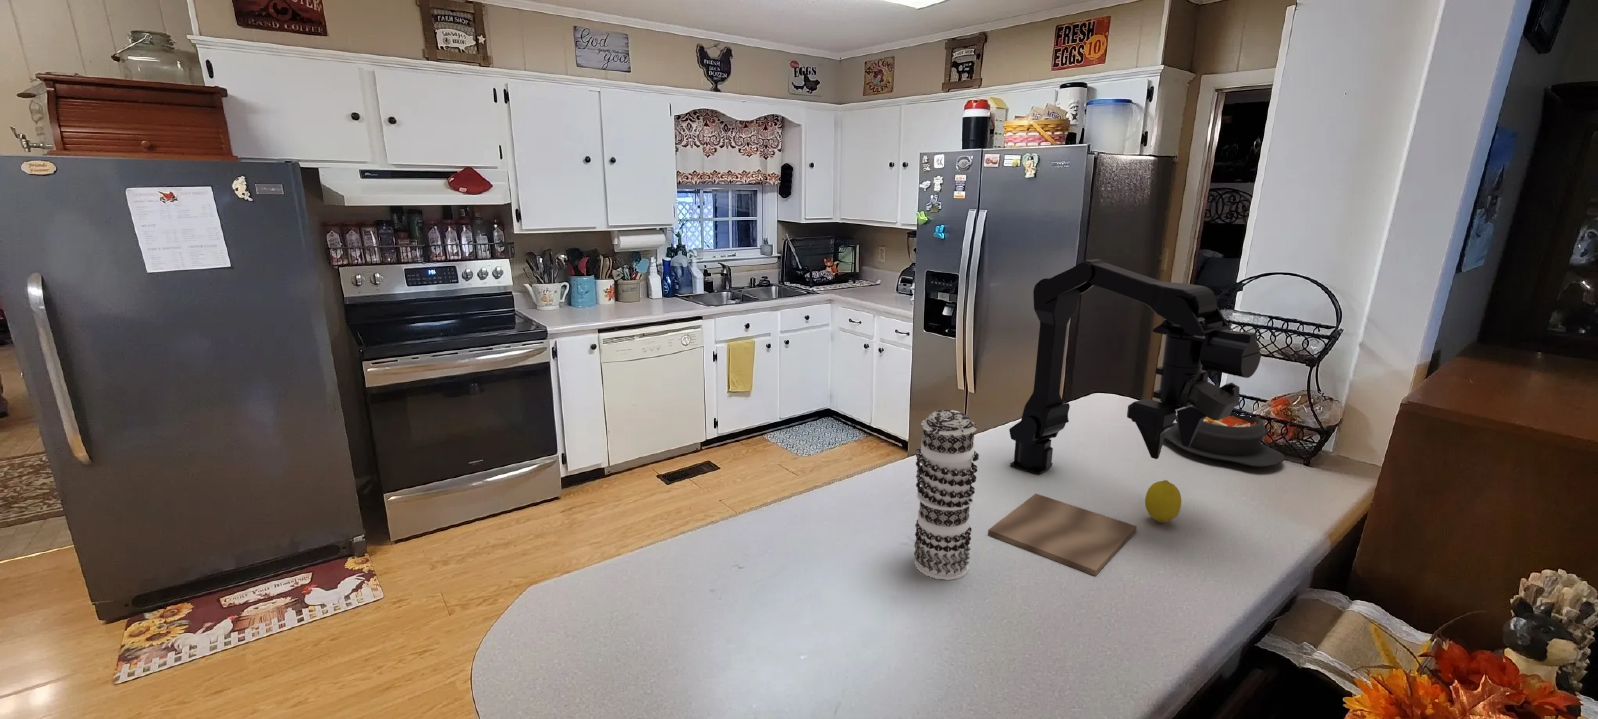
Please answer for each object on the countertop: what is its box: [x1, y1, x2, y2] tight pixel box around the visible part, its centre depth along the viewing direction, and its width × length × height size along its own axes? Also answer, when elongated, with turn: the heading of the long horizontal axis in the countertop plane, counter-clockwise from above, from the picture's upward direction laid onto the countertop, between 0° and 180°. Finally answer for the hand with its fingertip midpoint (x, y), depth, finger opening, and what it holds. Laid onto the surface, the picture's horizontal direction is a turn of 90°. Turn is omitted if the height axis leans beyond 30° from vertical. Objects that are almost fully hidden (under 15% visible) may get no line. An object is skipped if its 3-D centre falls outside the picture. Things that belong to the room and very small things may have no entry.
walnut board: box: [987, 493, 1138, 577], centre depth 117 cm, size 18×18×1 cm
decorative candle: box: [913, 409, 980, 581], centre depth 105 cm, size 9×9×25 cm
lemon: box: [1144, 479, 1182, 523], centre depth 119 cm, size 6×6×8 cm
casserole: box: [1164, 407, 1285, 468], centre depth 148 cm, size 25×19×8 cm
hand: (1170, 452), depth 117 cm, fingers open, 9 cm apart
